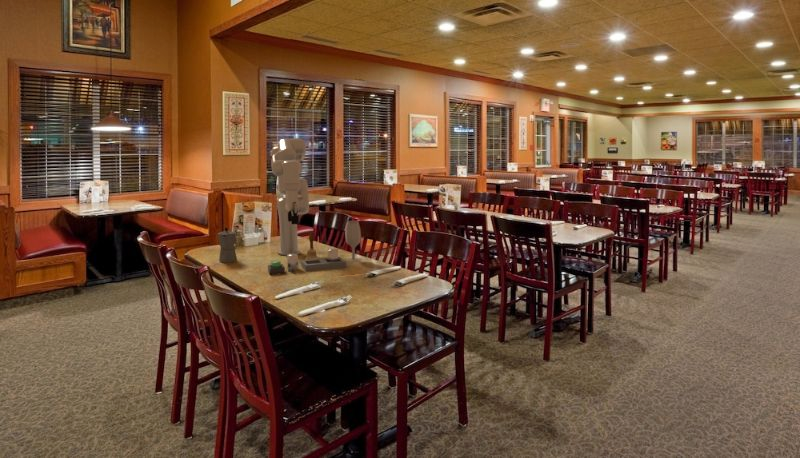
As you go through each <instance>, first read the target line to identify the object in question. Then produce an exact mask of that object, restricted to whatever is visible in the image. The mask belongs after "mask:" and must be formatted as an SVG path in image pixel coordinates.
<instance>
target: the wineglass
mask: <svg viewBox="0 0 800 458" xmlns="http://www.w3.org/2000/svg"><path fill="white" fill-rule="evenodd" d="M361 233H362V231H361V226H360V223H359V221H356V220H349V221H347V222H346V225H345V233H344V235H345V236H344V237H345V241H346V243H347V244H348V245H349V246H350V247H351V257H348V258H346V259H345V262H351V263H353V262H354V263H356V262H360V261H362V259H361V257H356V255H355V254H356V252H355V248H356V247H357V246H358V245H359V244H360V242H361V238H362V235H361Z"/></svg>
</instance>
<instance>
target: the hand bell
mask: <svg viewBox="0 0 800 458" xmlns="http://www.w3.org/2000/svg"><path fill="white" fill-rule="evenodd" d="M314 238H315V234H314V233H313V230H310V231H309V234H308V241H309V250H307V253H306V257H305V258H304V260H310V259H320V258H319V257H318V255H317V251H316V250H315V249H314V240H315V239H314Z"/></svg>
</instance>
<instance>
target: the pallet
mask: <svg viewBox="0 0 800 458" xmlns="http://www.w3.org/2000/svg"><path fill="white" fill-rule="evenodd" d="M300 266H301V267H302V269H303V270H304V271H305V272H312V271H323V270H330V269H331V270H332V269H340V268H346V267H347V261H346V260H344V259H343V258H341V257H340V256H338V261H337V262H328V257H326V258H325V257H323V258H319V259H310V260H305V259H301V260H300Z"/></svg>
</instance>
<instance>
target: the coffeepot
mask: <svg viewBox="0 0 800 458" xmlns="http://www.w3.org/2000/svg"><path fill="white" fill-rule="evenodd" d="M236 234H237V233H236V232H235V231H232V230H231V229H229V228H228V227H224V231H220V232H218V233H217V239H218V242H219V246H220V249H219V258H218V261H219V262H220V263H222V262H224V264H226V263H227V264H228V263H234V262H237V261H238V258H237V254H236V253H237V252H236V249H235V244H236Z"/></svg>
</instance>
